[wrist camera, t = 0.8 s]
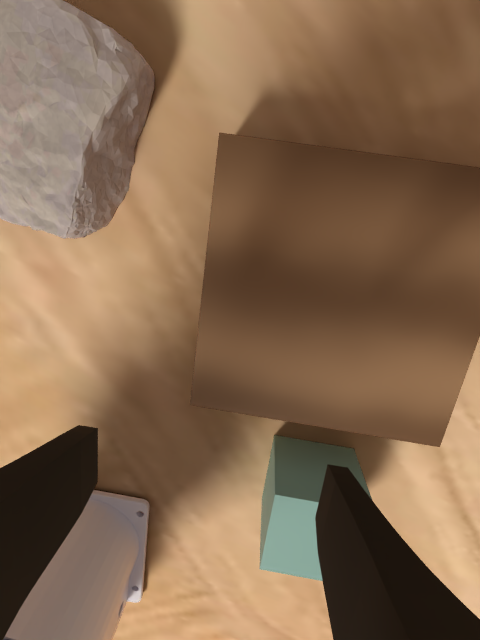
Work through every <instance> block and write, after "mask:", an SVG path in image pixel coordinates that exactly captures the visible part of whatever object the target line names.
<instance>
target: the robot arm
mask: <svg viewBox="0 0 480 640" xmlns="http://www.w3.org/2000/svg"><path fill="white" fill-rule="evenodd" d="M97 478H98V428H93V427H86V426H80V425H79V426H77V427H75V428H73V429H71V430H69V431H67V432H65V433H63V434H62V435H60V436H58V437H56V438H55V439H53V440H51V441H49V442H47V443H46V444H44V445H42V446H40V447H39V448H37V449H35V450H33V451H31V452H30V453H28V454H26V455H24V456H22V457H21V458H19V459H17V460H15V461H13V462H11V463H9V464H7V465H6V466H4V467H2V468H0V640H112V639H113V637H114V634H115V631H116V629H117V626H118V623H119V621H120V618H121V615H122V613H123V610H124V607H125V605H126V602H127V601H130V602H139V601H141V598H142V595H143V584H144V571H145V558H146V545H147V532H148V519H149V503H148V501H147V500H145V499H141V498H136V497H130V496H125V495H119V494H114V493H108V492H103V491H97V490H94V488H95V486H96V484H97ZM140 511H141V512H143V513H141V512H140ZM315 521H316V537H317V549H318V557H319V563H320V569H321V574H322V580H323V585H324V591H325V596H326V601H327V607H328V612H329V618H330V623H331V628H332V634H333V639H334V640H480V619H479V618H478V617H477V616H476V615H474V614H473V613H472V612H471V611H470V610H469V609H468V608H467V607H466V606H465V605H464V604H463V603H462V602H461V601H460V600H459V599H458V598H457V597H456V596H455V595H454V594H453V593H452V592H451V591H450V590H449V589H448V588H447V587H446V586H445V585H444V584H443V583H442V582H441V581H440V580H439V579H438V578H437V577H436V576H435V575H434V574H433V573H432V572H431V570H430V569H429V568H428V567H427V566H426V565H425V564H424V563H423V562H422V561H421V560H420V558H419V557H418V556H417V555H416V554H415V553H414V552H413V550H412V549H411V548H410V547H409V546H408V545H407V543H406V542H405V541H404V540H403V539H402V538H401V536H400V535H399V534H398V533H397V532H396V530H395V529H394V528H393V527H392V525H391V524H390V523H389V522H388V520H387V519H386V518H385V517H384V515H383V514H382V513H381V512H380V510H379V509H378V508H377V506H376V505H375V504H374V502H373V501H372V500H371V498H370V497H369V496H368V494H367V493H366V492H365V490H364V489H363V487H362V486H361V485H360V483H359V482H358V481H357V479H356V478H355V477H354V475H353V474H352V472H351V471H350V470H349V468H348V467H342V466H336V465H329V464H327V469H326V473H325V477H324V482H323V486H322V491H321V495H320V499H319V504H318V508H317V512H316V517H315Z"/></svg>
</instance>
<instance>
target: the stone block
mask: <svg viewBox="0 0 480 640" xmlns="http://www.w3.org/2000/svg"><path fill="white" fill-rule="evenodd" d="M154 81H155V78H154V73H153V70H152V68H151V67H150V65H149V64H148V63H147V62H146V60H145V58H144V57H143V56H142V55H141V54H140V53H139V51H137V50H136V49H135V48H134V45H133V44H132V43H131V42H129V41H127V40H126V39H124V38H123V37H122V36H121V35H120V34H118V33H117V32H116V31H115V30H114V29H113V28H111V27H109V26H107V25H105V24H103V23H102V22H100V21H98V20H96V19H95V18H93V17H91V16H90V15H88V14H87V13H85V12H83V11H81V10H80V9H78V8H76V7H74V6H73V5H71V4H69V3H67V2H65V1H63V0H0V218H1V219H2V220H5V221H7V222H10V223H13V224H17V225H22V226H30V227H31V228H32V230H42V231H45V232H47V233H51V234H54V235H56V236H59V237H61V238H80V237H85V236H87V235H89V234H91V233H93V232H96V231H97V230H99V229H101V228H102V227H105V226H107V225H108V223H109V222H110V221H111V219H112V218H113V215H114V213H115V211H116V209H117V208H118V206H119V205H120V203H121V202H122V201H123V199H124V197H125V195H126V193H127V191H128V190H129V182H130V176H131V170H132V166H133V165H134V149H135V146H136V143H137V140H138V137H139V136H140V134H141V132H142V128H143V127H144V125H145V122H146V117H147V114H148V111H149V107H150V102H151V98H152V94H153V91H154Z"/></svg>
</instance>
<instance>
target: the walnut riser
mask: <svg viewBox="0 0 480 640" xmlns="http://www.w3.org/2000/svg"><path fill="white" fill-rule="evenodd" d="M479 336H480V168H478V167H471V166H464V165H456V164H449V163H441V162H434V161H426V160H419V159H411V158H404V157H397V156H389V155H382V154H374V153H367V152H359V151H352V150H344V149H337V148H330V147H322V146H315V145H307V144H300V143H292V142H285V141H277V140H270V139H263V138H255V137H248V136H240V135H233V134H225V133H219V141H218V150H217V159H216V168H215V178H214V187H213V196H212V206H211V215H210V224H209V233H208V243H207V252H206V261H205V270H204V280H203V289H202V298H201V308H200V317H199V326H198V335H197V345H196V354H195V363H194V373H193V382H192V391H191V400H190V405H193V406H198V407H204V408H210V409H216V410H222V411H228V412H234V413H240V414H246V415H252V416H258V417H264V418H270V419H276V420H282V421H288V422H294V423H300V424H305V425H311V426H317V427H323V428H329V429H335V430H341V431H347V432H353V433H359V434H365V435H371V436H377V437H383V438H389V439H395V440H401V441H406V442H412V443H418V444H424V445H430V446H436V447H440V445H441V442H442V439H443V437H444V434H445V431H446V428H447V425H448V423H449V420H450V417H451V414H452V412H453V409H454V406H455V403H456V400H457V398H458V395H459V392H460V389H461V386H462V384H463V381H464V378H465V375H466V373H467V370H468V367H469V364H470V361H471V359H472V356H473V353H474V350H475V348H476V345H477V342H478V339H479Z"/></svg>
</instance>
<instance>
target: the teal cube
mask: <svg viewBox="0 0 480 640" xmlns="http://www.w3.org/2000/svg"><path fill="white" fill-rule="evenodd" d="M327 464H329V465H336V466H342V467H348V468H349V470H350V471H351V472H352V474H353V475H354V477H355V478H356V479H357V481H358V482H359V483H360V485H361V486H362V487H363V489H364V490H365V492H366V493H367V494H368V496H369V497H370V498H371V496H370V493H369V490H368V487H367V484H366V481H365V479H364V476H363V473H362V470H361V467H360V464H359V462H358V459H357V456H356V453H355V450H354V449H353V448H347V447H342V446H336V445H330V444H324V443H318V442H312V441H306V440H301V439H295V438H289V437H283V436H277V435H274V439H273V444H272V449H271V455H270V460H269V465H268V470H267V475H266V480H265V485H264V491H263V496H262V512H261V542H260V569H261V570H267V571H272V572H277V573H283V574H288V575H293V576H299V577H304V578H309V579H315V580H320V581H323V580H322V574H321V569H320V563H319V557H318V549H317V537H316V521H315V517H316V512H317V508H318V504H319V499H320V495H321V491H322V486H323V482H324V477H325V473H326V469H327ZM371 500H372V498H371Z"/></svg>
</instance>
